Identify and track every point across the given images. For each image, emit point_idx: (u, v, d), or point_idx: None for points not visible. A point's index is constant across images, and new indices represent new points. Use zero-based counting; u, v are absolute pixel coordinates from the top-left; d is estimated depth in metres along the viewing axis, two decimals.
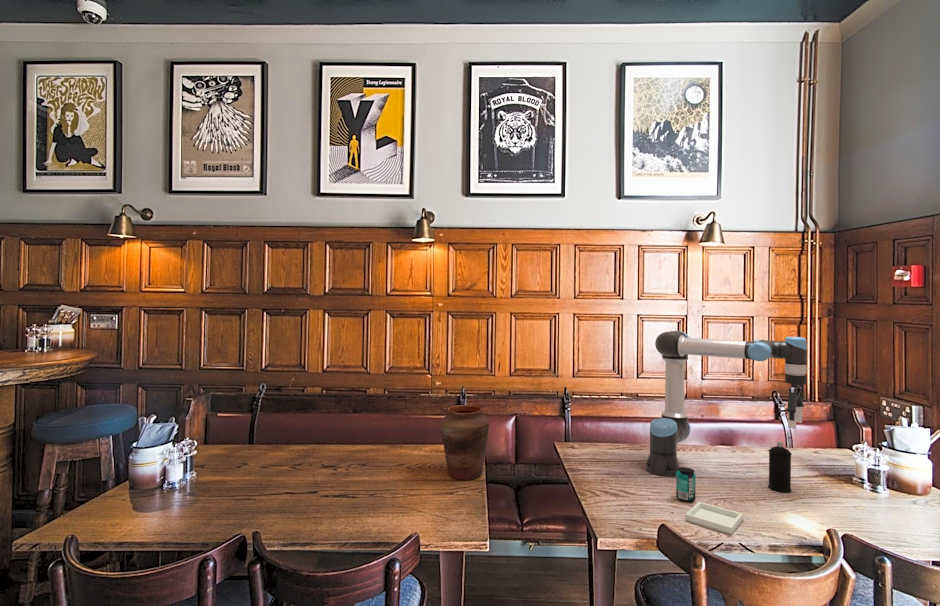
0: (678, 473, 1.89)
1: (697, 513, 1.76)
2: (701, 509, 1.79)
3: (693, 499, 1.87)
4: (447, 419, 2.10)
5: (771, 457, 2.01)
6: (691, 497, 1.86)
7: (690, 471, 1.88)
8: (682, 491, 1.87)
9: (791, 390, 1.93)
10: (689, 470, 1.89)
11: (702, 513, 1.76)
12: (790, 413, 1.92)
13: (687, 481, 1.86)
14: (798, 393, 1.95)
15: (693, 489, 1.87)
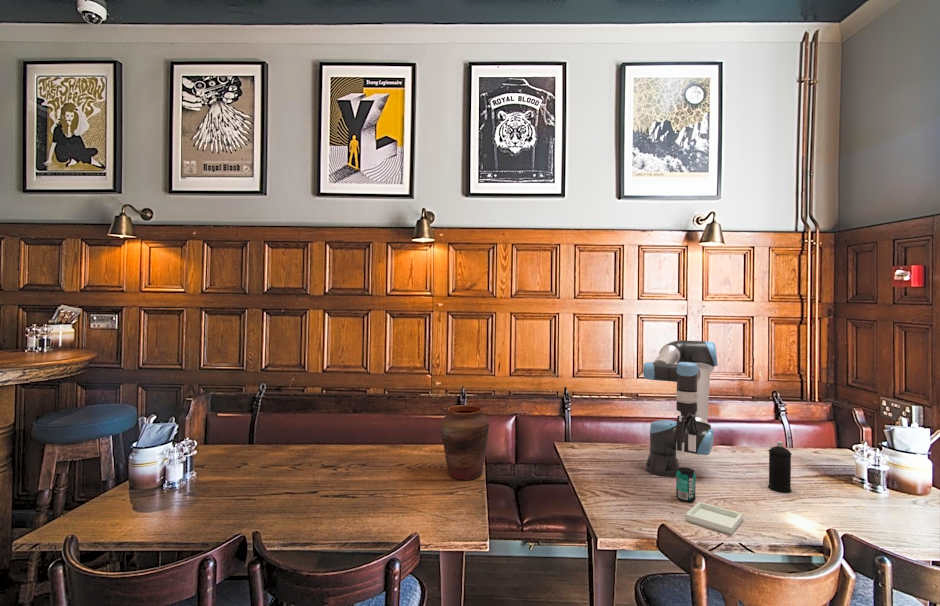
0: (678, 473, 1.89)
1: (697, 513, 1.76)
2: (701, 509, 1.79)
3: (693, 499, 1.87)
4: (447, 419, 2.10)
5: (771, 457, 2.01)
6: (691, 497, 1.86)
7: (690, 471, 1.88)
8: (682, 491, 1.87)
9: (679, 419, 1.85)
10: (689, 470, 1.89)
11: (702, 513, 1.76)
12: (677, 443, 1.84)
13: (687, 481, 1.86)
14: (687, 422, 1.86)
15: (693, 489, 1.87)
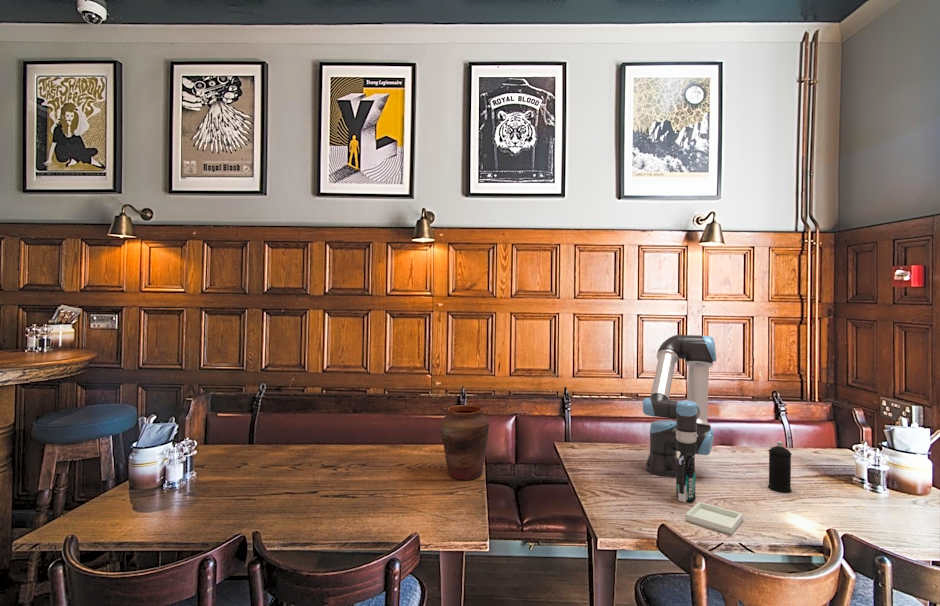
0: None
1: (697, 513, 1.76)
2: (701, 509, 1.79)
3: (693, 499, 1.87)
4: (447, 419, 2.10)
5: (771, 457, 2.01)
6: (691, 497, 1.86)
7: (690, 471, 1.88)
8: None
9: (679, 462, 1.85)
10: (689, 470, 1.89)
11: (702, 513, 1.76)
12: (680, 486, 1.86)
13: (687, 481, 1.86)
14: (687, 463, 1.87)
15: (693, 489, 1.87)
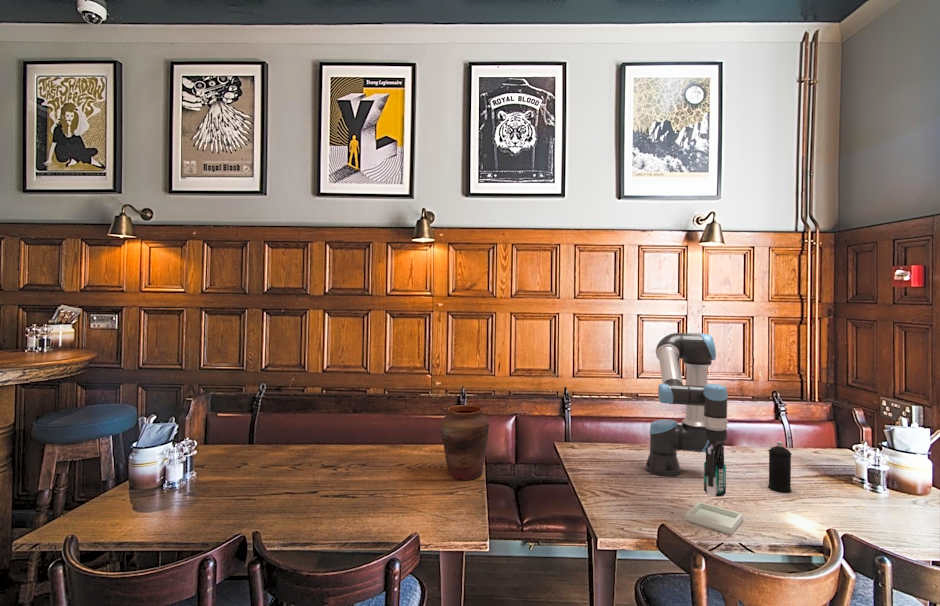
0: None
1: (697, 513, 1.76)
2: (701, 509, 1.79)
3: (723, 493, 1.68)
4: (447, 419, 2.10)
5: (771, 457, 2.01)
6: (721, 490, 1.68)
7: (720, 461, 1.69)
8: None
9: (708, 451, 1.67)
10: (718, 460, 1.71)
11: (702, 513, 1.76)
12: (709, 478, 1.67)
13: (716, 473, 1.68)
14: (717, 452, 1.68)
15: (723, 481, 1.68)
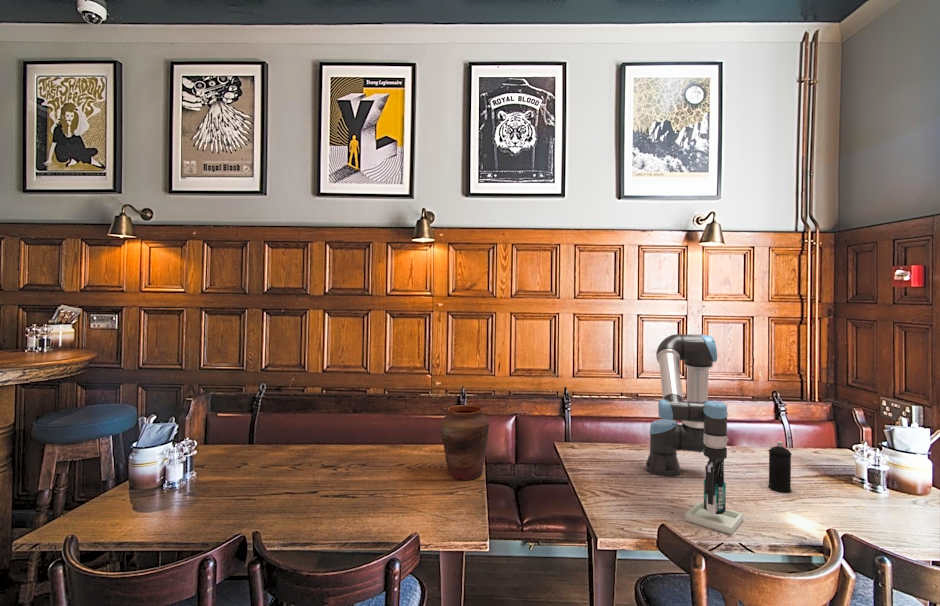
0: None
1: (697, 513, 1.76)
2: (701, 509, 1.79)
3: (723, 510, 1.68)
4: (447, 419, 2.10)
5: (771, 457, 2.01)
6: (721, 508, 1.68)
7: (720, 479, 1.70)
8: None
9: (708, 470, 1.67)
10: (718, 478, 1.71)
11: (702, 513, 1.76)
12: (708, 496, 1.68)
13: (716, 491, 1.68)
14: (717, 470, 1.69)
15: (723, 499, 1.68)
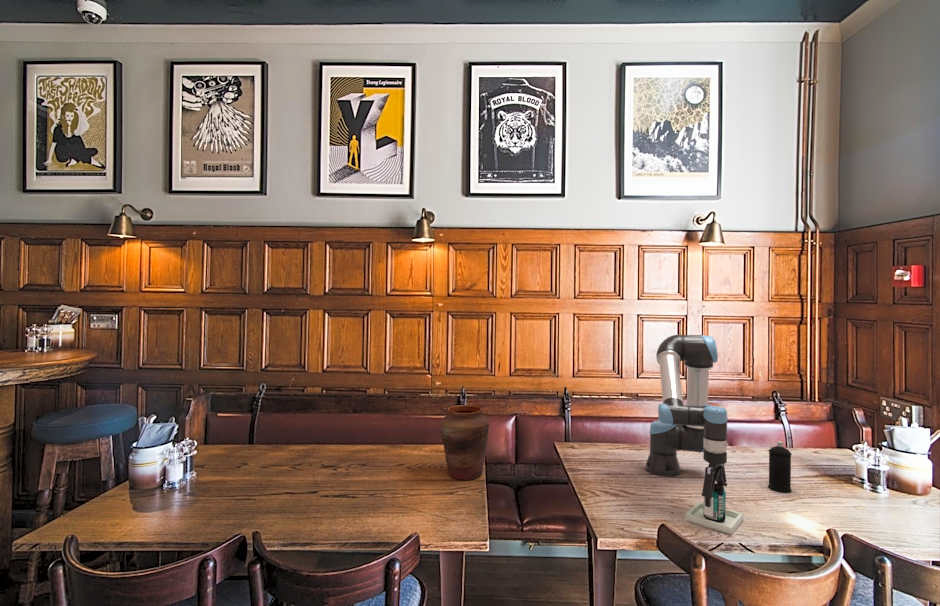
0: None
1: (697, 513, 1.76)
2: (701, 509, 1.79)
3: (723, 519, 1.69)
4: (447, 419, 2.10)
5: (771, 457, 2.01)
6: (720, 516, 1.68)
7: (720, 488, 1.70)
8: None
9: (707, 471, 1.67)
10: (718, 486, 1.71)
11: (702, 513, 1.76)
12: (706, 498, 1.66)
13: (716, 499, 1.68)
14: (716, 474, 1.68)
15: (723, 508, 1.68)
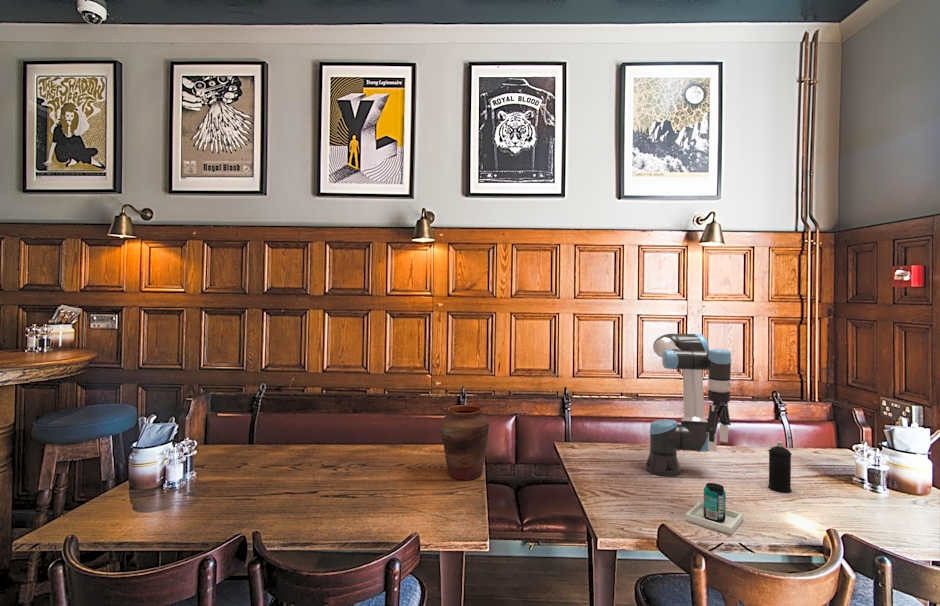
0: (706, 490, 1.71)
1: (697, 513, 1.76)
2: (701, 509, 1.79)
3: (723, 519, 1.69)
4: (447, 419, 2.10)
5: (771, 457, 2.01)
6: (720, 516, 1.68)
7: (720, 488, 1.70)
8: (711, 509, 1.69)
9: (711, 408, 1.76)
10: (718, 486, 1.71)
11: (702, 513, 1.76)
12: (710, 434, 1.75)
13: (716, 499, 1.68)
14: (720, 411, 1.78)
15: (723, 508, 1.68)
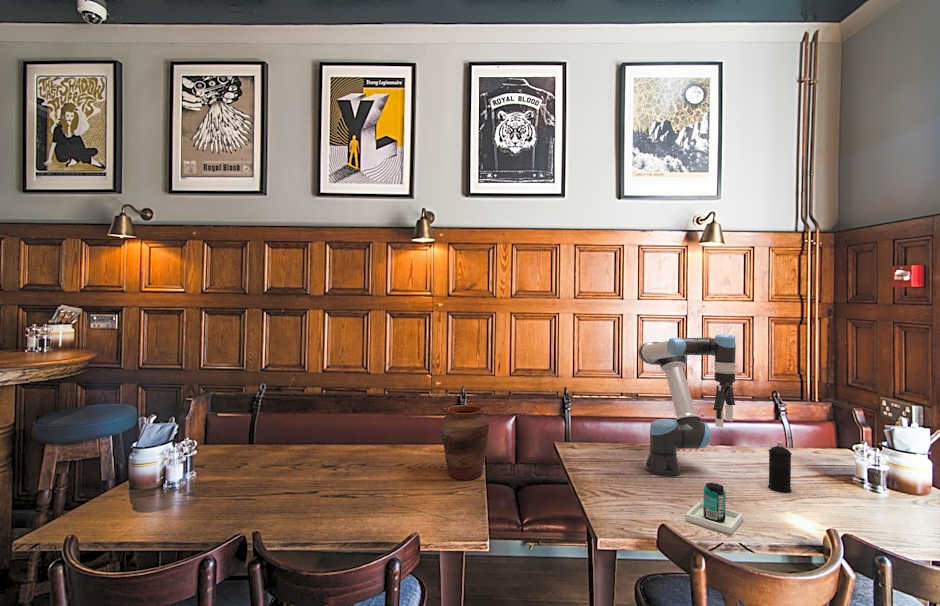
0: (706, 490, 1.71)
1: (697, 513, 1.76)
2: (701, 509, 1.79)
3: (723, 519, 1.69)
4: (447, 419, 2.10)
5: (771, 457, 2.01)
6: (720, 516, 1.68)
7: (719, 488, 1.70)
8: (711, 509, 1.69)
9: (718, 388, 1.92)
10: (718, 486, 1.71)
11: (702, 513, 1.76)
12: (717, 411, 1.91)
13: (716, 499, 1.68)
14: (726, 391, 1.93)
15: (723, 508, 1.68)
